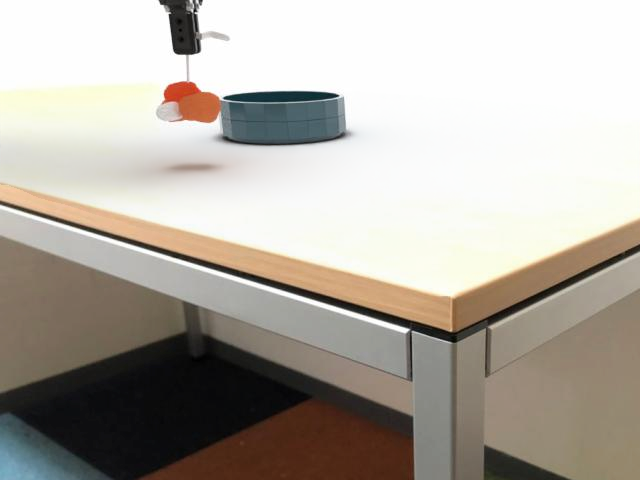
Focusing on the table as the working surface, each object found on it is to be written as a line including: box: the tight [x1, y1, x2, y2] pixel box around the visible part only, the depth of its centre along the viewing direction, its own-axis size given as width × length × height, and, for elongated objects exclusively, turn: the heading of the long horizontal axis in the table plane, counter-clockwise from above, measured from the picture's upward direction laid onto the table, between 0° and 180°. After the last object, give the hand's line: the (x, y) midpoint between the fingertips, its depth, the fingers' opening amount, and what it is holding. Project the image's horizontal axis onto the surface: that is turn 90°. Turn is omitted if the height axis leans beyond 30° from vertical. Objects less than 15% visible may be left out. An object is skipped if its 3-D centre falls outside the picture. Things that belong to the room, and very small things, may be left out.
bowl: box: [218, 90, 347, 145], centre depth 99 cm, size 16×16×5 cm
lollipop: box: [155, 13, 231, 124], centre depth 75 cm, size 6×10×12 cm, turn 60°
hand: (187, 53), depth 74 cm, fingers closed on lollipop, 1 cm apart
